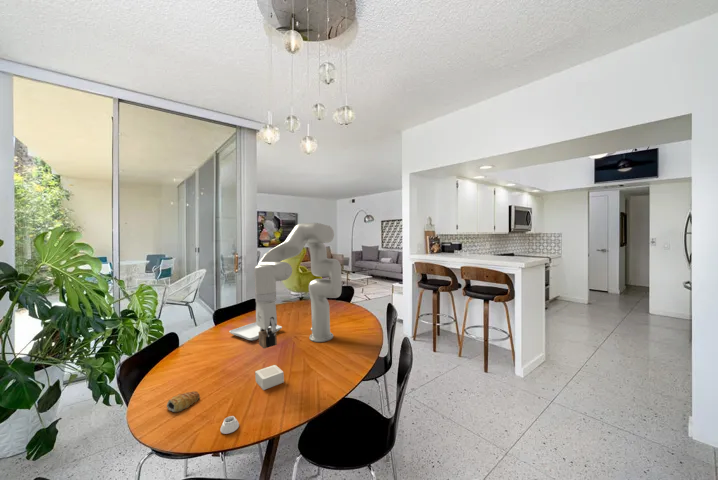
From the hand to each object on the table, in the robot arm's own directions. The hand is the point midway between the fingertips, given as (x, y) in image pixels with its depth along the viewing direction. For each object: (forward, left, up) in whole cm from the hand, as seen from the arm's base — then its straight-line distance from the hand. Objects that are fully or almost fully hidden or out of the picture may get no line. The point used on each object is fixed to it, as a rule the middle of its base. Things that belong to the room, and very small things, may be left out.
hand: (267, 343), depth 109 cm
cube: (0, 0, -1) cm, 1 cm away
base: (0, 0, -15) cm, 15 cm away
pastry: (-6, -28, -16) cm, 33 cm away
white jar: (+17, -19, -16) cm, 30 cm away
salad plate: (-55, +14, -16) cm, 59 cm away
